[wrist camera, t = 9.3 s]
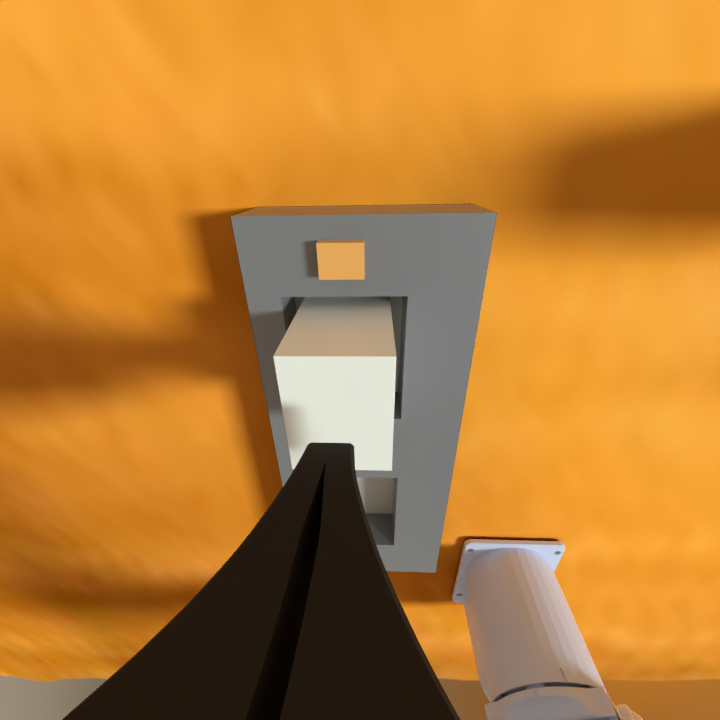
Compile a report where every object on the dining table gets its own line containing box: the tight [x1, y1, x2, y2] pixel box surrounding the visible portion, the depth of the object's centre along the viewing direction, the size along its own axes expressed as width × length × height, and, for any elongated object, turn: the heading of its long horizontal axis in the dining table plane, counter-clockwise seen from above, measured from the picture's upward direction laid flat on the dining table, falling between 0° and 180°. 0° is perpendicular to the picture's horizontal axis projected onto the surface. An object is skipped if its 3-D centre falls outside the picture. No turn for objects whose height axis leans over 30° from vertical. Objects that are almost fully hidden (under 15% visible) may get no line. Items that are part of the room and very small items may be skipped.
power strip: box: [231, 204, 497, 573], centre depth 20 cm, size 24×10×4 cm, turn 1°
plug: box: [273, 296, 396, 471], centre depth 15 cm, size 5×4×7 cm
